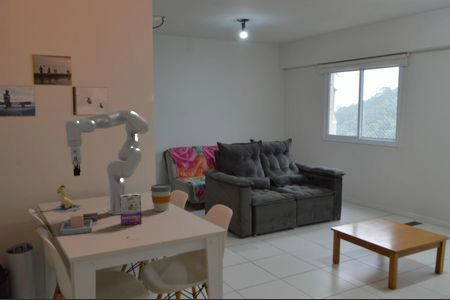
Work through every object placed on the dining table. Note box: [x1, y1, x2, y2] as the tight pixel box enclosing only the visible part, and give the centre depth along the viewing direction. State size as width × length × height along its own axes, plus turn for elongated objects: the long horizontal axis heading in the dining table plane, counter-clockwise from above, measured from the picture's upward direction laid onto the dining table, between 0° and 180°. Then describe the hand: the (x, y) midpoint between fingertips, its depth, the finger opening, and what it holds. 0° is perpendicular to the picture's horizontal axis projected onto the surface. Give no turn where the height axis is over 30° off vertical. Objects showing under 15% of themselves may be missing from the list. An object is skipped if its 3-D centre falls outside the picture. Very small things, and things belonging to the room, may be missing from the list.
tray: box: [59, 220, 94, 236], centre depth 200 cm, size 15×15×2 cm
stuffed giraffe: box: [49, 184, 82, 213], centre depth 241 cm, size 16×18×16 cm
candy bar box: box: [120, 192, 143, 226], centre depth 210 cm, size 11×5×16 cm, turn 105°
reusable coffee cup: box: [150, 183, 172, 212], centre depth 239 cm, size 13×13×15 cm
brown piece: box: [77, 212, 99, 222], centre depth 218 cm, size 14×10×2 cm
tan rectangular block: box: [69, 213, 84, 229], centre depth 200 cm, size 6×3×7 cm, turn 107°
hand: (77, 174), depth 208 cm, fingers open, 9 cm apart
